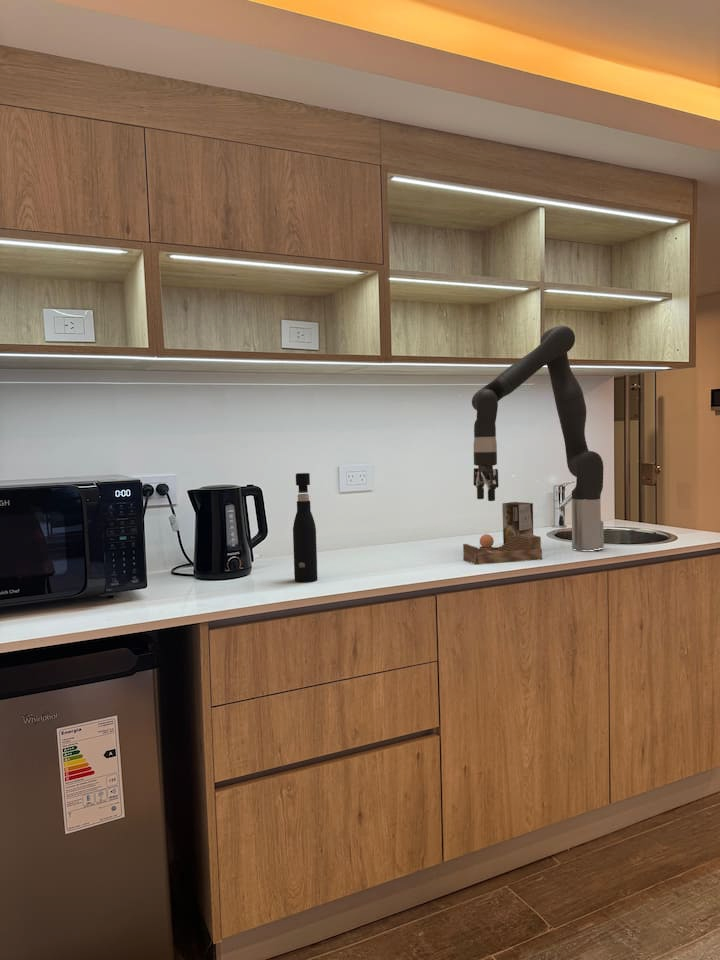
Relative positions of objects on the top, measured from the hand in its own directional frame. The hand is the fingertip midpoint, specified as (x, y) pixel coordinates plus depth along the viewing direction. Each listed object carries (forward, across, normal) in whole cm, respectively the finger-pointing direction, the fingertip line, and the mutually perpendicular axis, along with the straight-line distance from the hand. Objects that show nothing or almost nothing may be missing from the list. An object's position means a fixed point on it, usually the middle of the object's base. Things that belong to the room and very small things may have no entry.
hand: (485, 500), depth 223 cm
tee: (+18, 0, 0) cm, 18 cm away
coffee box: (+18, +5, -14) cm, 24 cm away
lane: (+18, -11, 0) cm, 21 cm away
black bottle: (+19, -20, +64) cm, 69 cm away
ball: (+16, 0, 0) cm, 16 cm away
